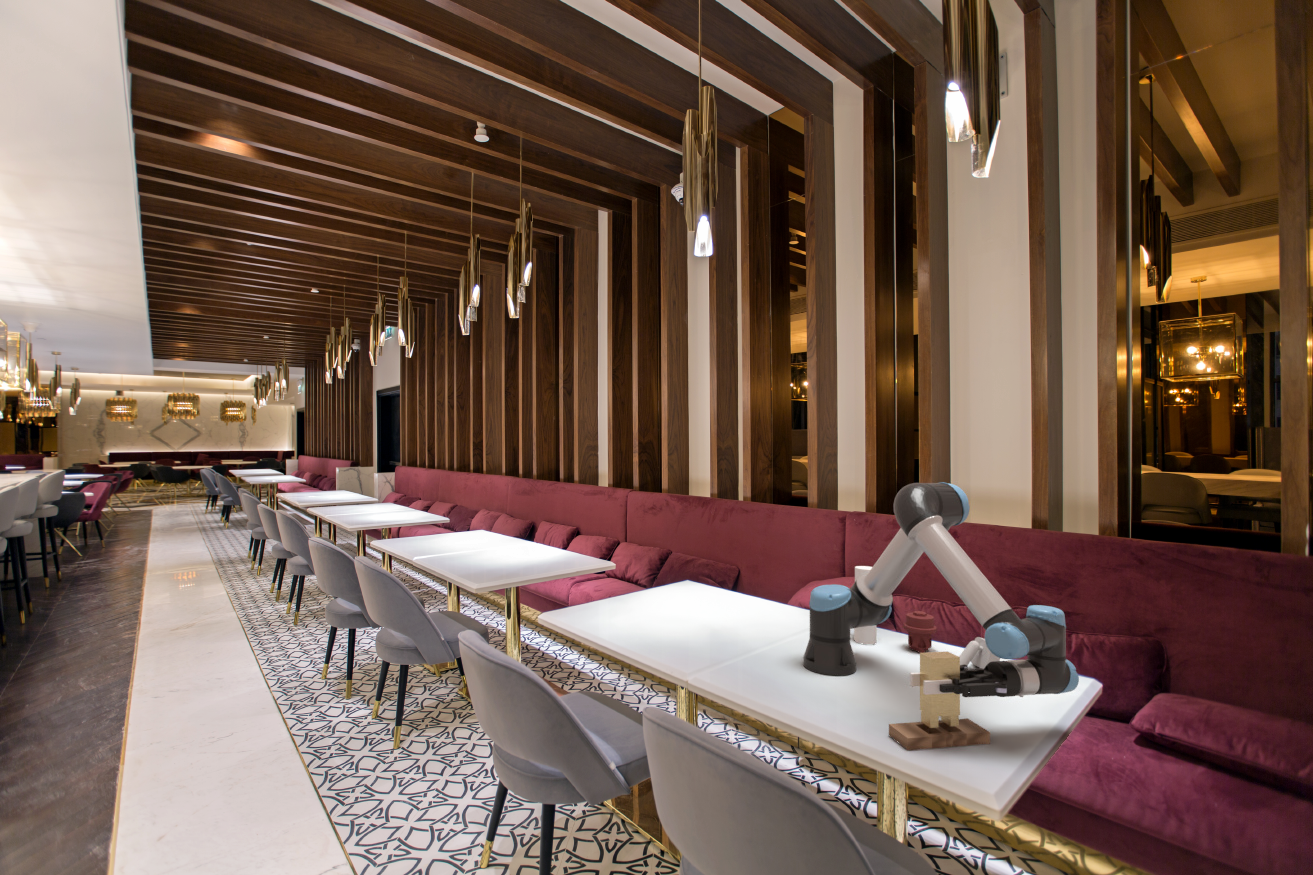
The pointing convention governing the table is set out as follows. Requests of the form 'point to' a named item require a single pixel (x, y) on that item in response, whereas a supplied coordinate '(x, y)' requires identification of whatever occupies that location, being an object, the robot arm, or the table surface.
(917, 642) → the mechanical component
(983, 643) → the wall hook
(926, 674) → the tall wooden block
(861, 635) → the cylindrical container
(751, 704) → the table surface
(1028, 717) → the table surface
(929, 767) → the table surface
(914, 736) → the slotted wooden base
